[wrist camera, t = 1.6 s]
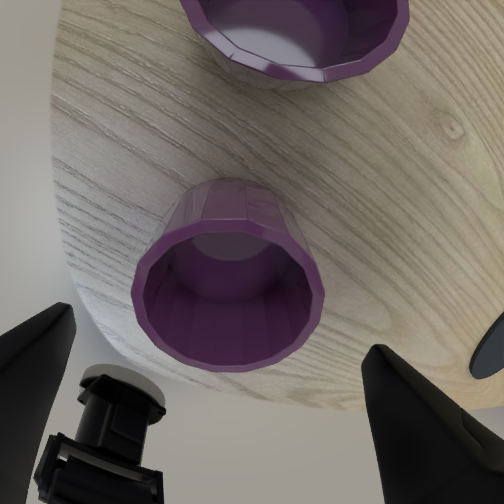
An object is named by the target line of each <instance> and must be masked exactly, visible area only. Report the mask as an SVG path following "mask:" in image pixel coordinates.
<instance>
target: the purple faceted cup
mask: <svg viewBox="0 0 504 504" xmlns="http://www.w3.org/2000/svg"><path fill="white" fill-rule="evenodd" d="M180 2H181V5H182V7H183V9H184V11H185V13H186V15H187V17H188V19H189V22H190V24H191V26H192V28H193V30H194V32H195V33H196V35H197V37H198V38H199V40H200V42H201V43H202V45H203V47H204V49H205V50H206V52H207V54H208V55H209V56H210V57H211V58H212V59H213V60H214V61H215V62H216V63H217V64H218V65H219V66H220V67H221V68H222V69H223V70H225V71H226V72H227V73H228V74H230V75H231V76H233V77H235V78H236V79H238V80H240V81H243V82H245V83H247V84H250V85H253V86H256V87H260V88H264V89H271V90H299V89H303V88H308V87H312V86H317V85H321V84H326V83H330V82H334V81H337V80H341V79H345V78H350V77H354V76H358V75H363V74H366V73H368V72H370V71H371V70H372V69H373V68H375V67H376V66H377V65H379V64H380V63H381V62H382V61H384V60H385V59H386V58H388V57H389V56H390V55H392V54H393V53H394V52H395V51H396V50H397V48H398V46H399V44H400V41H401V39H402V37H403V35H404V32H405V30H406V28H407V25H408V23H409V19H410V18H409V3H408V0H180Z"/></svg>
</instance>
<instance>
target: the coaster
mask: <svg viewBox="0 0 504 504" xmlns="http://www.w3.org/2000/svg"><path fill="white" fill-rule="evenodd" d="M503 368H504V313H503V314H502V315H501V316H500V317H499V319H498V320H497V321H496V322H495V323H494V324H493V326H492V327H491V328H490V329H489V331H488V332H487V333H486V335H485V336H484V338H483V339H482V341H481V342H480V344H479V345H478V347H477V349H476V351H475V353H474V355H473V357H472V360H471V363H470V372H471V374H472V375H473V377H474V378H476V379H483V378H487V377H489V376H491V375H493V374H495V373H497V372H498V371H500V370H501V369H503Z"/></svg>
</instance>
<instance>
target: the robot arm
mask: <svg viewBox="0 0 504 504" xmlns="http://www.w3.org/2000/svg"><path fill="white" fill-rule="evenodd" d="M75 334H76V322H75V317H74V313H73V308H72V306H71V305H70V304H66V303H62V302H58V303H56V304H54V305H52V306H51V307H49V308H47V309H46V310H44V311H42V312H40V313H39V314H37V315H35V316H33V317H31V318H30V319H28V320H27V321H25V322H23V323H21V324H20V325H18V326H16V327H15V328H13V329H11V330H9V331H8V332H6V333H4V334H3V335H1V336H0V504H26V498H27V494H28V490H27V489H28V488H29V484H30V479H31V475H32V471H33V467H34V463H35V459H36V456H37V452H38V449H39V445H40V442H41V439H42V435H43V432H44V429H45V425H46V422H47V420H48V417H49V414H50V410H51V408H52V405H53V402H54V400H55V397H56V394H57V391H58V389H59V386H60V383H61V381H62V378H63V375H64V372H65V368H66V365H67V361H68V358H69V354H70V351H71V347H72V344H73V341H74V337H75ZM361 371H362V378H363V385H364V393H365V401H366V408H367V413H368V417H369V422H370V427H371V432H372V436H373V441H374V446H375V450H376V456H377V461H378V467H379V471H380V477H381V483H382V489H383V495H384V501H385V504H504V440H503V439H502V438H500V437H499V436H497V435H496V434H494V433H493V432H492V431H490V430H489V429H488V428H486V427H485V426H484V425H482V424H481V423H480V422H478V421H477V420H476V419H475V418H473V417H472V416H471V415H470V414H468V413H467V412H466V411H465V410H464V409H463V408H460V406H459V405H458V404H457V403H455V402H454V401H453V400H452V399H451V398H449V397H448V396H447V395H446V394H445V393H443V392H442V391H441V390H440V389H439V388H437V387H436V386H435V385H434V384H433V383H431V382H430V381H429V380H428V379H427V378H425V377H424V376H423V375H422V374H421V373H419V372H418V371H417V370H416V369H414V368H413V367H412V366H411V365H410V364H408V363H407V362H406V361H405V360H404V359H402V358H401V357H400V356H399V355H398V354H396V353H395V352H394V351H393V350H391V349H390V348H389V347H388V346H387V345H384V344H374V345H373V346H372V347H371V348H370V350H369V352H368V353H367V355H366V357H365V358H364V360H363V362H362V365H361ZM77 400H78V401H79V402H80V403H82V404H83V405H85V409H84V412H83V415H82V418H81V421H80V424H79V427H78V430H77V433H76V437H75V440H72V439H70V438H68V437H66V436H65V435H64V434H62V433H60V432H58V434H57V436H55V435H49V438H48V441H47V444H46V447H45V450H44V452H43V455H42V457H41V459H40V462H39V464H38V466H37V469H36V471H35V474H34V480H35V482H36V484H37V485H38V492H39V498H38V499H39V500H40V501H42V502H44V503H47V504H164V492H163V472H161V471H157V470H155V471H154V470H150V469H147V468H144V467H141V461H142V455H143V449H144V443H145V438H146V432H147V427H148V424H149V423H151V422H153V421H155V420H157V419H159V418H161V417H162V416H164V415H166V408H164V407H162V406H160V405H159V404H157V403H155V402H153V401H151V400H149V399H147V398H146V397H144V396H142V395H140V394H139V393H137V392H135V391H133V390H132V389H130V388H128V387H127V386H125V385H123V384H122V383H120V382H118V381H117V380H115V379H113V378H112V377H110V376H109V375H107V374H101V375H100V376H99V377H98V378H97V379H96V380H95V381H94V382H93V383H91V384H90V385H89V386H88V387H87V388H86V389H85V390H84V391H83V392H82V393H81V394H80V395H79V396H78V399H77ZM60 456H62V457H64V458H66V459H67V462H66V461H64V460H62V459H60Z"/></svg>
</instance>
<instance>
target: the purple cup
mask: <svg viewBox="0 0 504 504" xmlns="http://www.w3.org/2000/svg"><path fill="white" fill-rule="evenodd" d="M324 297H325V290H324V287H323V283H322V280H321V277H320V274H319V270H318V267H317V264H316V261H315V259H314V257H313V255H312V253H311V251H310V248H309V246H308V244H307V242H306V240H305V238H304V236H303V234H302V232H301V230H300V227H299V225H298V223H297V221H296V219H295V217H294V215H293V214H292V212H291V211H290V210H289V209H288V207H287V206H286V204H285V203H284V202H283V201H282V200H281V199H280V198H279V197H278V196H277V195H276V194H275V193H273V192H272V191H271V190H269V189H268V188H266V187H264V186H262V185H260V184H258V183H255V182H252V181H249V180H244V179H239V178H220V179H214V180H209V181H206V182H204V183H201V184H199V185H197V186H195V187H193V188H191V189H190V190H188V191H187V192H185V193H184V194H183V195H182V196H181V197H179V198H178V199H177V200H176V202H175V203H174V204H173V205H172V207H171V208H170V210H169V211H168V212H167V213H166V214H165V216H164V217H163V219H162V221H161V223H160V224H159V226H158V228H157V229H156V231H155V233H154V235H153V236H152V238H151V240H150V242H149V243H148V245H147V247H146V249H145V250H144V252H143V254H142V256H141V258H140V259H139V261H138V263H137V267H136V271H135V275H134V279H133V283H132V288H131V298H132V302H133V306H134V310H135V314H136V318H137V322H138V324H139V325H140V327H141V328H142V329H143V330H144V332H145V333H146V334H147V336H148V337H149V338H150V339H151V341H152V342H153V343H154V345H155V346H157V348H159V349H160V350H162V351H164V352H165V353H167V354H168V355H170V356H171V357H173V358H174V359H176V360H178V361H179V362H181V363H183V364H186V365H189V366H193V367H196V368H200V369H203V370H207V371H211V372H248V371H252V370H256V369H259V368H263V367H266V366H270V365H273V364H275V363H278V362H279V361H281V360H282V359H284V358H285V357H287V356H289V355H290V354H292V353H293V352H295V351H296V350H298V349H299V348H301V346H303V344H304V343H305V342H306V340H307V339H308V338H309V336H310V335H311V334H312V332H313V331H314V329H315V328H316V327H317V325H318V324H319V322H320V317H321V312H322V307H323V302H324Z"/></svg>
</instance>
